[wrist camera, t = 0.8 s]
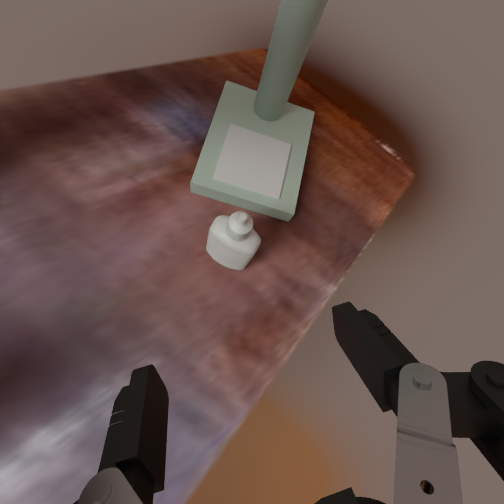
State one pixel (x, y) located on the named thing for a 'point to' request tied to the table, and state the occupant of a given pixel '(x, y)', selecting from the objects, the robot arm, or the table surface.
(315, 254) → the table surface
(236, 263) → the eye dropper bottle
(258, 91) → the arbor press
